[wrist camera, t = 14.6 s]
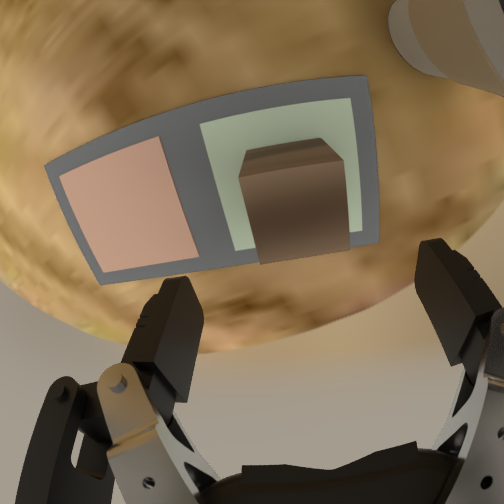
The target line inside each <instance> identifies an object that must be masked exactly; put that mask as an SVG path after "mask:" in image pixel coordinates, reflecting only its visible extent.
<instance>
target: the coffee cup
mask: <svg viewBox="0 0 504 504" xmlns="http://www.w3.org/2000/svg"><path fill="white" fill-rule="evenodd" d="M388 27H389V32H390V36H391V38H392V41H393V43H394V45H395V47H396V49H397V50H398V52H399V53H400V54H401V56H402V57H403V58H404V59H405V60H406V61H407V62H408V63H409V64H410V65H411V66H412V67H414V68H415V69H417V70H418V71H420V72H422V73H424V74H427V75H431V76H436V77H441V78H446V79H451V80H453V81H455V82H457V83H460V84H463V85H467V86H471V87H474V88H478V89H481V90H484V91H488V92H491V93H494V94H497V95H500V96H503V97H504V0H396V1H395V2H394V3H393V5H392V6H391V8H390V11H389V15H388Z"/></svg>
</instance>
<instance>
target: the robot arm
mask: <svg viewBox="0 0 504 504" xmlns="http://www.w3.org/2000/svg"><path fill="white" fill-rule="evenodd" d="M414 280H415V288H416V292H417V294H418V296H419V298H420V300H421V302H422V304H423V306H424V308H425V310H426V312H427V314H428V316H429V318H430V320H431V322H432V324H433V327H434V329H435V330H436V333H437V335H438V337H439V339H440V342H441V344H442V346H443V348H444V351H445V353H446V356H447V358H448V361H449V363H450V365H451V366H454V365H457V364H460V363H463V365H464V370H463V372H462V374H461V378H460V382H459V385H458V388H457V392H456V395H455V398H454V401H453V404H452V407H451V410H450V413H449V416H448V418H447V421H446V423H445V425H444V427H443V428H442V430H441V431H440V433H439V435H438V436H437V438H436V440H435V442H434V444H433V446H432V449H421V448H420V449H418V448H417V443H416V441H414V442H411V443H407V444H404V445H400V446H396V447H393V448H389V449H385V450H381V451H377V452H374V453H372V454H370V455H367V456H366V457H363V458H361V459H359V460H356V461H354V462H352V463H350V464H347V465H344V466H342V467H339V468H337V469H333V470H324V469H314V468H306V467H299V466H292V465H286V464H283V465H243V466H242V473H239V474H235V475H232V476H229V477H226V478H224V479H222V480H221V479H220V478H219V476H218V475H217V474H216V472H215V471H214V470H213V468H212V467H211V466H210V465H209V464H208V463H207V462H206V461H205V459H204V458H203V457H202V456H201V455H200V453H199V452H198V450H197V449H196V447H195V446H194V444H193V442H192V441H191V439H190V437H189V436H188V434H187V433H186V431H185V429H184V428H183V426H182V424H181V422H180V421H179V419H178V417H177V416H176V414H175V412H174V411H173V409H174V404H175V402H181V403H187V400H188V395H189V390H190V385H191V381H192V376H193V371H194V366H195V361H196V357H197V352H198V347H199V343H200V338H201V333H202V329H203V324H204V315H203V310H202V307H201V305H200V303H199V300H198V298H197V296H196V294H195V291H194V289H193V287H192V284H191V282H190V280H189V278H188V277H187V276H182V277H174V278H167V279H165V280H164V281H163V283H162V286H161V288H160V290H159V293H158V294H154V295H153V296H152V297H151V298H150V300H149V301H148V302H147V303H146V304H145V305H144V308H143V310H142V312H141V315H140V319H138V322H137V324H136V328H135V329H134V331H133V333H132V336H131V338H130V341H129V343H128V346H127V348H126V351H125V353H124V356H123V358H122V361H121V363H118V364H115V365H112V366H111V367H109V368H108V369H106V370H105V371H104V372H103V373H102V375H101V376H100V379H99V381H97V382H94V383H89V384H85V385H79V384H78V383H77V382H76V381H75V380H74V379H73V378H72V377H69V376H65V377H61V378H59V379H57V380H56V381H55V382H54V383H53V384H52V385H51V386H50V388H49V390H48V393H47V395H46V397H45V400H44V403H43V406H42V408H41V411H40V414H39V417H38V419H37V422H36V425H35V428H34V431H33V434H32V437H31V440H30V444H29V447H28V450H27V454H26V457H25V461H24V465H23V469H22V473H21V477H20V481H19V486H18V491H17V495H16V501H15V504H111V499H112V493H113V486H114V481H115V479H116V482H117V484H118V486H119V489H120V491H121V493H122V496H123V498H124V500H125V502H126V504H504V308H502V306H501V305H500V303H499V302H498V300H497V299H496V297H495V296H494V294H493V293H492V291H491V290H490V289H489V287H488V286H487V284H486V283H485V282H484V280H483V279H482V278H480V275H479V274H478V272H477V271H476V270H474V267H473V266H472V264H471V263H470V262H469V261H468V259H467V258H466V257H464V256H463V255H461V254H460V253H459V252H457V251H456V250H453V251H452V250H451V248H450V247H449V246H448V245H447V243H446V242H445V241H444V240H443V239H442V238H437V239H431V240H425V241H421V243H420V245H419V252H418V259H417V265H416V271H415V279H414ZM78 430H79V431H80V432H82V433H84V438H83V441H82V446H81V449H80V454H79V457H78V461H77V466H76V468H74V466H73V465H72V463H71V454H72V450H73V446H74V442H75V438H76V435H77V431H78Z"/></svg>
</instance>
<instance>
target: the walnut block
mask: <svg viewBox="0 0 504 504" xmlns="http://www.w3.org/2000/svg"><path fill="white" fill-rule="evenodd" d="M238 179H239V183H240V187H241V191H242V195H243V199H244V203H245V207H246V211H247V215H248V219H249V223H250V227H251V231H252V235H253V239H254V243H255V247H256V251H257V255H258V259H259V263H260V264H267V263H273V262H279V261H286V260H292V259H298V258H304V257H311V256H317V255H323V254H329V253H335V252H341V251H347V250H350V230H349V213H348V200H347V188H346V177H345V168H344V160H343V159H342V158H341V157H340V156H339V155H338V154H337V153H336V152H335V151H334V150H333V149H332V148H331V147H330V146H329V145H328V144H327V143H326V142H325V141H324V140H323V139H322V138H314V139H307V140H301V141H294V142H288V143H282V144H277V145H271V146H266V147H260V148H255V149H250V150H246V153H245V156H244V160H243V163H242V166H241V170H240V173H239V177H238Z"/></svg>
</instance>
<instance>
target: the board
mask: <svg viewBox="0 0 504 504" xmlns="http://www.w3.org/2000/svg"><path fill="white" fill-rule="evenodd" d="M314 138H322V139H323V140H324V141H325V142H326V143H327V144H328V145H329V146H330V147H331V148H332V149H333V150H334V151H335V152H336V153H337V154H338V155H339V156H340V157H341V158H342V159H343V160H344V168H345V177H346V188H347V200H348V213H349V230H350V247H356V246H362V245H368V244H374V243H379V184H378V165H377V151H376V140H375V130H374V121H373V113H372V105H371V98H370V92H369V85H368V79H367V76H346V77H333V78H322V79H313V80H305V81H297V82H290V83H283V84H277V85H271V86H266V87H260V88H255V89H250V90H245V91H241V92H236V93H232V94H228V95H223V96H219V97H215V98H212V99H208V100H204V101H200V102H197V103H193V104H190V105H187V106H183V107H180V108H177V109H174V110H171V111H167V112H164V113H161V114H159V115H156V116H153V117H150V118H147V119H144V120H142V121H139V122H136V123H134V124H131V125H129V126H126V127H124V128H121V129H119V130H116V131H114V132H112V133H109V134H107V135H105V136H102V137H100V138H98V139H96V140H93V141H91V142H89V143H87V144H85V145H83V146H81V147H79V148H77V149H75V150H73V151H71V152H69V153H67V154H65V155H63V156H61V157H59V158H57V159H55V160H53V161H52V162H50V163H48V164H46V165H44V167H45V170H46V172H47V175H48V178H49V180H50V183H51V185H52V188H53V190H54V193H55V195H56V198H57V200H58V202H59V205H60V207H61V209H62V212H63V214H64V216H65V218H66V220H67V223H68V225H69V227H70V229H71V231H72V233H73V235H74V237H75V239H76V241H77V243H78V245H79V247H80V249H81V251H82V253H83V255H84V257H85V259H86V261H87V263H88V264H89V266H90V268H91V270H92V272H93V274H94V275H95V277H96V279H97V281H98V282H99V284H100V285H107V284H114V283H121V282H128V281H135V280H142V279H149V278H156V277H163V276H170V275H177V274H184V273H190V272H197V271H204V270H210V269H217V268H224V267H230V266H237V265H243V264H250V263H256V262H259V259H258V255H257V251H256V247H255V243H254V239H253V235H252V231H251V227H250V223H249V219H248V215H247V211H246V207H245V203H244V199H243V195H242V191H241V187H240V183H239V179H238V177H239V173H240V170H241V166H242V163H243V160H244V156H245V153H246V150H250V149H255V148H260V147H266V146H271V145H277V144H282V143H288V142H294V141H301V140H307V139H314Z"/></svg>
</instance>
